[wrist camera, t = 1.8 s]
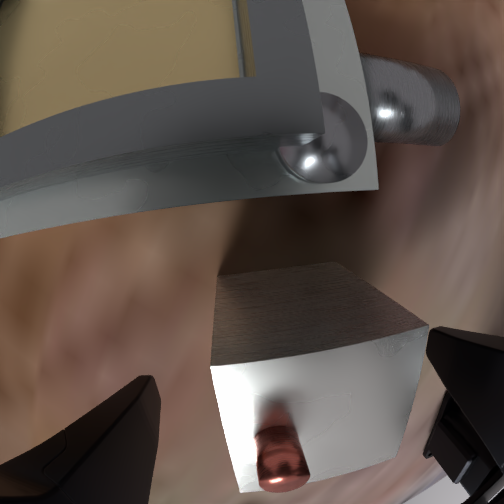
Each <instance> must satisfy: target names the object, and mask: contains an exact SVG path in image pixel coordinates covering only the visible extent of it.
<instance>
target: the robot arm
mask: <svg viewBox="0 0 504 504" xmlns="http://www.w3.org/2000/svg"><path fill="white" fill-rule="evenodd" d="M426 355H427V357H428V359H429V360H430V362H431V364H432V365H433V367H434V369H435V370H436V372H437V374H438V376H439V377H440V379H441V381H442V382H443V384H444V386H445V387H446V389H447V390H448V393H447V394H446V396H445V397H444V400H443V403H442V406H441V409H440V412H439V415H438V417H437V420H436V423H435V425H434V428H433V431H432V433H431V436H430V438H429V440H428V443H427V445H426V448H425V450H424V452H423V456H424V457H425V458H426V459H427V458H430V457H432V456H434V457H435V459H436V460H437V462H438V463H439V464H440V466H441V467H442V468H443V470H444V471H445V472H446V474H447V475H448V476H449V478H450V479H451V480H452V482H453V483H455V484H457V483H459V482H460V483H461V484H462V486H463V487H464V489H465V490H466V491H467V493H468V494H469V495H470V497H469V498H468V499H467V500H466V501H465V502H463V503H461V504H504V489H502V488H503V486H504V337H500V336H494V335H487V334H482V333H476V332H470V331H464V330H459V329H453V328H448V327H442V326H439V327H436V328H433V329H431V330H430V332H429V335H428V341H427V347H426ZM160 410H161V398H160V395H159V392H158V388H157V385H156V382H155V379H154V377H153V376H151V375H141V376H138V377H137V378H136V379H134V380H133V381H131V382H130V383H129V384H127V385H126V386H124V387H123V388H122V389H120V390H119V391H118V392H116V393H115V394H113V395H112V396H111V397H109V398H108V399H106V400H105V401H103V402H102V403H101V404H99V405H98V406H96V407H95V408H93V409H92V410H91V411H89V412H88V413H86V414H85V415H83V416H82V417H81V418H79V419H78V420H76V421H75V422H73V423H72V424H70V425H69V426H67V427H66V428H65V430H61V431H60V432H59V433H57V434H56V435H54V436H53V437H51V438H49V439H48V440H46V441H45V442H43V443H41V444H40V445H38V446H36V447H34V448H32V449H31V450H29V451H27V452H25V453H23V454H21V455H19V456H17V457H15V458H13V459H11V460H9V461H7V462H5V463H3V464H1V465H0V504H148V501H149V495H150V489H151V482H152V477H153V471H154V465H155V460H156V454H157V448H158V441H159V425H160ZM500 489H502V490H501V491H500V492H499V490H500ZM497 492H499V493H498V494H497V495H496V496H495V497H494V498H493V499H492V500H491V501H490V502H489V503H488V501H489V500H490V499H491V498H492V497H493V496H494V495H495V494H496V493H497Z"/></svg>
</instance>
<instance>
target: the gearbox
mask: <svg viewBox="0 0 504 504" xmlns="http://www.w3.org/2000/svg"><path fill="white" fill-rule="evenodd" d="M459 119H460V101H459V96H458V93H457V90H456V88H455V86H454V84H453V82H452V80H451V79H450V78H449V77H448V76H447V75H446V74H445V73H444V72H442V71H441V70H438V69H435V68H431V67H427V66H423V65H419V64H415V63H411V62H406V61H402V60H397V59H392V58H387V57H381V56H375V55H369V54H362V53H359V51H358V47H357V43H356V39H355V35H354V31H353V28H352V24H351V20H350V17H349V13H348V10H347V6H346V3H345V0H0V238H3V237H8V236H12V235H17V234H21V233H26V232H30V231H35V230H40V229H45V228H50V227H55V226H60V225H66V224H71V223H76V222H82V221H87V220H93V219H99V218H105V217H111V216H117V215H124V214H130V213H137V212H143V211H150V210H157V209H164V208H172V207H179V206H187V205H195V204H204V203H212V202H221V201H230V200H240V199H250V198H260V197H271V196H283V195H296V194H309V193H324V192H340V191H360V190H379V187H378V174H377V163H376V153H375V144H374V142H384V143H403V144H418V145H430V146H441V145H444V144H446V143H447V142H448V141H449V140H450V139H451V138H452V137H453V135H454V134H455V132H456V130H457V127H458V123H459Z"/></svg>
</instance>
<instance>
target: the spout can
mask: <svg viewBox="0 0 504 504" xmlns="http://www.w3.org/2000/svg"><path fill="white" fill-rule="evenodd" d="M428 329H429V325H428V324H427V323H426V322H424V321H423V320H421V319H420V318H418V317H417V316H416V315H414V314H413V313H411V312H410V311H408V310H407V309H406V308H404V307H403V306H401V305H400V304H398V303H397V302H395V301H394V300H392V299H391V298H389V297H388V296H387V295H385V294H384V293H382V292H381V291H379V290H378V289H376V288H375V287H373V286H372V285H370V284H369V283H367V282H366V281H364V280H363V279H361V278H360V277H358V276H357V275H355V274H354V273H352V272H351V271H349V270H348V269H346V268H345V267H343V266H342V265H340V264H338V263H337V262H328V263H320V264H312V265H305V266H297V267H289V268H280V269H272V270H264V271H255V272H247V273H238V274H229V275H221V276H217V283H216V295H215V308H214V321H213V335H212V350H211V366H210V367H211V372H212V377H213V382H214V386H215V391H216V396H217V400H218V405H219V410H220V414H221V418H222V423H223V427H224V431H225V435H226V440H227V444H228V448H229V452H230V456H231V460H232V463H233V467H234V471H235V475H236V478H237V482H238V486H239V489H240V493H244V492H254V491H263V490H265V491H268V492H275V493H279V492H287V491H291V490H294V489H297V488H299V487H301V486H303V485H304V484H305V483H310V482H315V481H319V480H323V479H327V478H331V477H335V476H339V475H343V474H346V473H350V472H353V471H356V470H360V469H363V468H366V467H369V466H372V465H375V464H378V463H381V462H383V461H386V460H389V459H391V458H394V457H396V455H397V452H398V449H399V447H400V444H401V441H402V438H403V435H404V432H405V429H406V425H407V422H408V419H409V415H410V412H411V408H412V405H413V401H414V397H415V393H416V389H417V385H418V381H419V377H420V372H421V368H422V363H423V358H424V352H425V347H426V341H427V335H428Z"/></svg>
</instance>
